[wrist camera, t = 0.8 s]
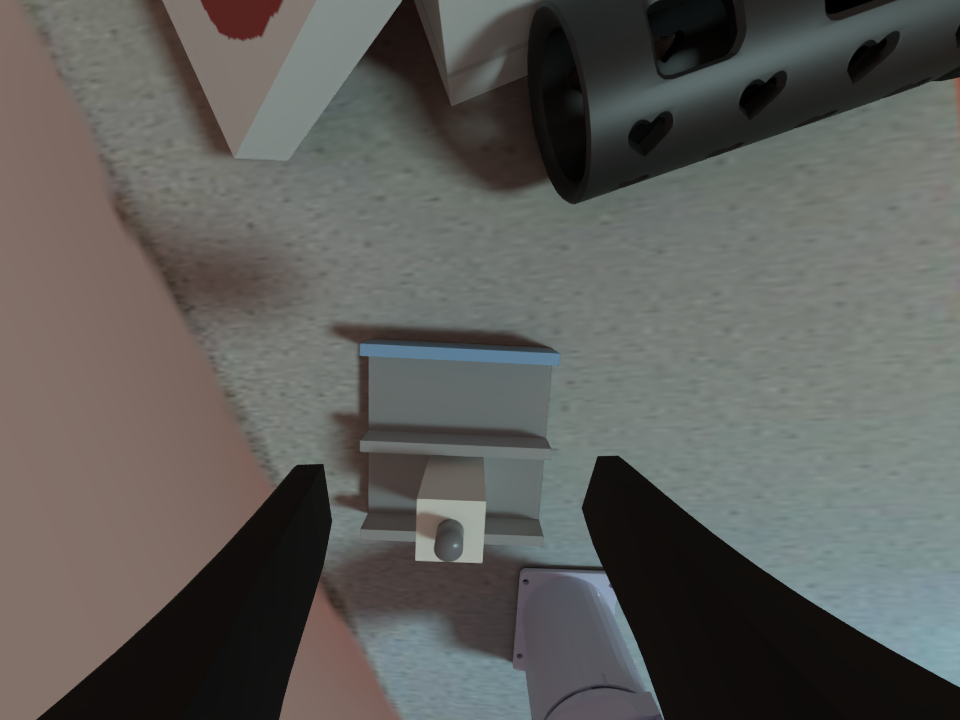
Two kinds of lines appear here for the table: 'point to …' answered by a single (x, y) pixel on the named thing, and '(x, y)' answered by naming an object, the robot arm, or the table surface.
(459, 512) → the plug
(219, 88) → the pizza boxes
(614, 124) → the muzzle brake
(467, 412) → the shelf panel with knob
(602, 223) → the table surface
